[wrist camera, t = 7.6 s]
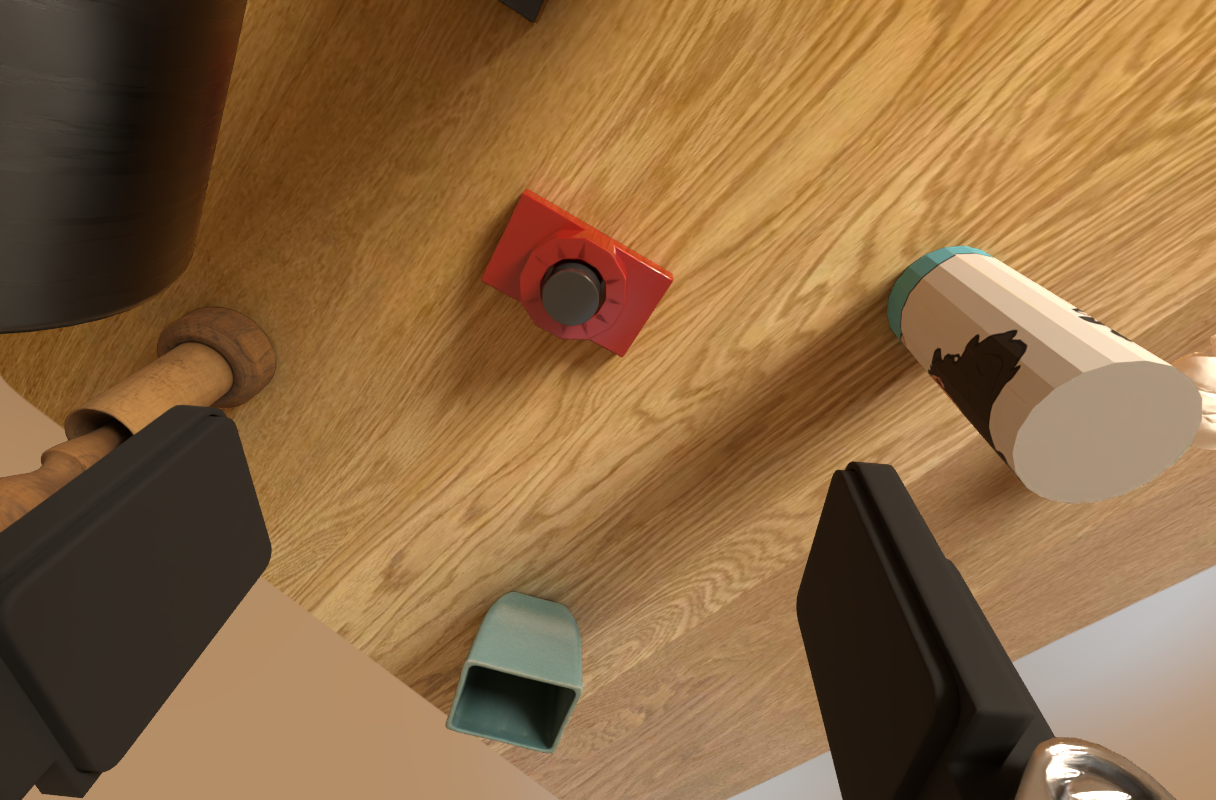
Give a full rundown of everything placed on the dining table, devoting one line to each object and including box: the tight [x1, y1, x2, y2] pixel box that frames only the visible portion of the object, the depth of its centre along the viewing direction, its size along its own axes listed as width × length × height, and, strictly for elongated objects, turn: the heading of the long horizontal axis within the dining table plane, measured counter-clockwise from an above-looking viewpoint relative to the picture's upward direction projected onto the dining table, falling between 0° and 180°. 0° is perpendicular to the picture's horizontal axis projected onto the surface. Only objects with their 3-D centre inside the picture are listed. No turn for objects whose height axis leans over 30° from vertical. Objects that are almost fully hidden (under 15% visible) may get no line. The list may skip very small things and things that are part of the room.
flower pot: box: [446, 592, 583, 753], centre depth 49 cm, size 9×9×9 cm
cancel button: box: [542, 262, 601, 326], centre depth 35 cm, size 3×3×2 cm
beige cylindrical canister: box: [887, 246, 1202, 504], centre depth 31 cm, size 7×7×15 cm
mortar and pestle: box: [0, 307, 276, 532], centre depth 34 cm, size 7×6×18 cm
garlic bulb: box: [1171, 335, 1216, 450], centre depth 36 cm, size 6×6×5 cm
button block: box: [481, 189, 673, 357], centre depth 36 cm, size 10×6×3 cm, turn 60°
